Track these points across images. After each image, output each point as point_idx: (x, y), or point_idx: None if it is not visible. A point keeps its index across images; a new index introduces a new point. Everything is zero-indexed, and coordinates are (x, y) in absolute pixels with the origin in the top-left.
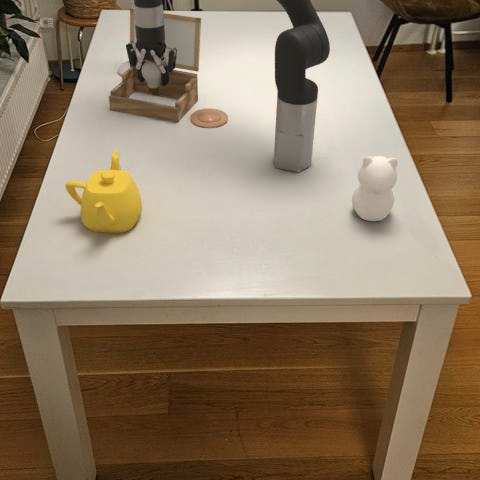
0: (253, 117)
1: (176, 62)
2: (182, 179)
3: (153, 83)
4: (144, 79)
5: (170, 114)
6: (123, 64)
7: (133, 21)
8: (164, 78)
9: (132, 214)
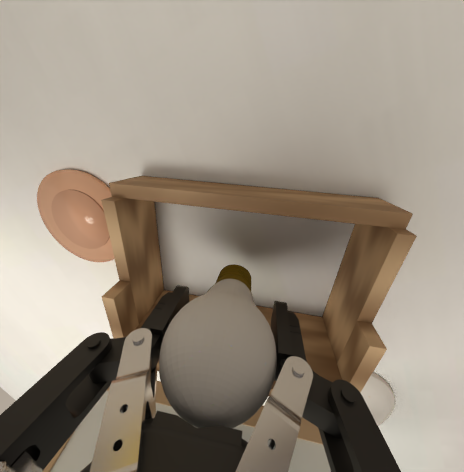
0: (22, 249)
1: (163, 409)
2: None
3: (216, 289)
4: (271, 320)
5: (149, 181)
6: (384, 416)
7: None
8: (162, 311)
9: None
